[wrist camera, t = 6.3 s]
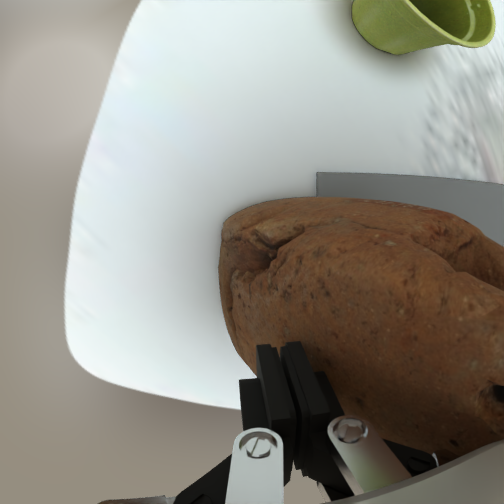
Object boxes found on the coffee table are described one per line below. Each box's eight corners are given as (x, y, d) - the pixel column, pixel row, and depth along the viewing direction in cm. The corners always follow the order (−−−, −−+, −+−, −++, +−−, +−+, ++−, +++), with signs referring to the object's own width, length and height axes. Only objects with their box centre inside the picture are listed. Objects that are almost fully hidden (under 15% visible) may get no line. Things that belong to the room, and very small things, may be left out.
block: (311, 325, 25) (544, 443, 7) (227, 362, 21) (465, 565, 4) (296, 189, 22) (619, 222, 4) (194, 210, 18) (652, 312, 1)
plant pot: (305, 2, 18) (343, -59, 9) (378, -32, 16) (426, -78, 8) (385, 93, 20) (457, 70, 12) (445, 46, 19) (510, 23, 11)
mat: (507, 185, 23) (509, 185, 23) (488, 311, 27) (490, 312, 27) (316, 172, 21) (317, 172, 21) (311, 346, 25) (312, 348, 25)
